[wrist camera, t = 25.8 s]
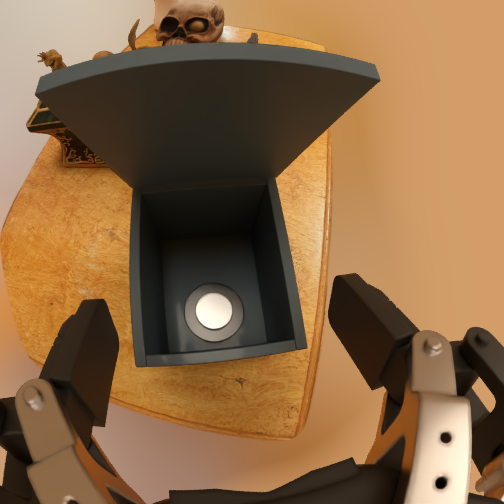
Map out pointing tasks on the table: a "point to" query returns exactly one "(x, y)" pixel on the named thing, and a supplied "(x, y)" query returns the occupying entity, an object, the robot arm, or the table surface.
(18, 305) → the table surface
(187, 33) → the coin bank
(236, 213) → the bin
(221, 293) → the pepper grinder
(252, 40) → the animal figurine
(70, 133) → the decorative box
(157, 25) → the water bottle
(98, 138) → the bin lid
